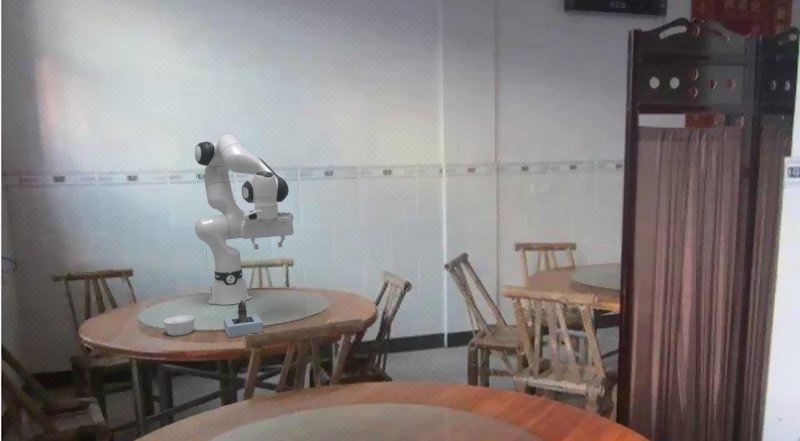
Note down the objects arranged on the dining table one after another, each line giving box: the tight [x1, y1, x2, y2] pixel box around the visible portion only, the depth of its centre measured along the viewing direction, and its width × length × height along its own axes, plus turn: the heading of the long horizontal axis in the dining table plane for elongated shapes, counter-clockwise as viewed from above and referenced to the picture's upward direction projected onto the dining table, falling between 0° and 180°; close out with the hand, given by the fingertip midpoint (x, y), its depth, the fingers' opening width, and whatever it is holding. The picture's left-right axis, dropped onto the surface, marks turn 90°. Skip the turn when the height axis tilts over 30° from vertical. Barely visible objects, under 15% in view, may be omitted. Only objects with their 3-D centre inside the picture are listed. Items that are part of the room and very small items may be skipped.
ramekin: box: [162, 314, 196, 337], centre depth 236 cm, size 11×11×5 cm
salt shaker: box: [235, 300, 251, 324], centre depth 234 cm, size 6×6×12 cm
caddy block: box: [223, 313, 264, 339], centre depth 235 cm, size 12×12×4 cm
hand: (268, 248), depth 246 cm, fingers open, 8 cm apart
